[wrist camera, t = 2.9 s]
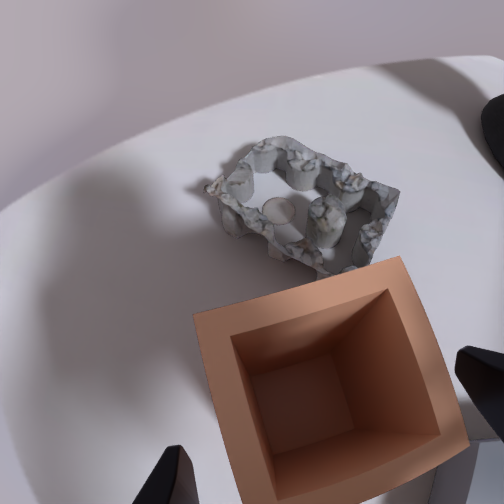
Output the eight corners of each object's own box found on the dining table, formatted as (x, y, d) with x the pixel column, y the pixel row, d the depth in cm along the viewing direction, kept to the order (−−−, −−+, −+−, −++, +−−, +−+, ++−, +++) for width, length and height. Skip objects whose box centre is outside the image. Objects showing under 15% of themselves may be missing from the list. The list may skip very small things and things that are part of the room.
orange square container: (368, 435, 15) (470, 445, 6) (262, 469, 14) (253, 534, 5) (336, 338, 17) (399, 255, 9) (233, 368, 17) (193, 314, 8)
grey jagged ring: (205, 224, 22) (192, 186, 18) (268, 158, 25) (266, 118, 21) (342, 310, 18) (358, 283, 15) (392, 223, 21) (410, 186, 18)
